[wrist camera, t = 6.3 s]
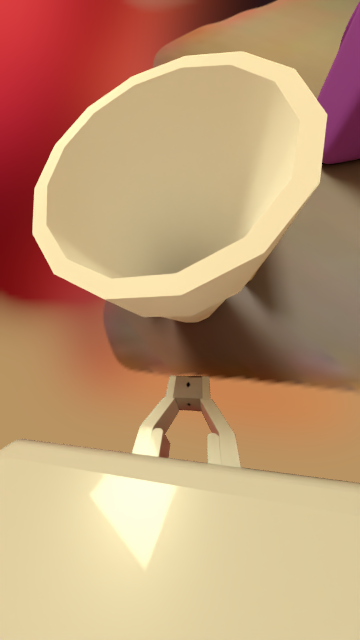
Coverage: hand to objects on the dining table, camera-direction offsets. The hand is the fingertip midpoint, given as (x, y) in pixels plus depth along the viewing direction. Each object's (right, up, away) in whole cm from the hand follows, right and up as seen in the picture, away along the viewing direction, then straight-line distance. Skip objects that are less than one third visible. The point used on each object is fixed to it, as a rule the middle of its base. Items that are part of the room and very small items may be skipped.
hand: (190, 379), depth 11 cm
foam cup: (+1, +7, +7) cm, 10 cm away
